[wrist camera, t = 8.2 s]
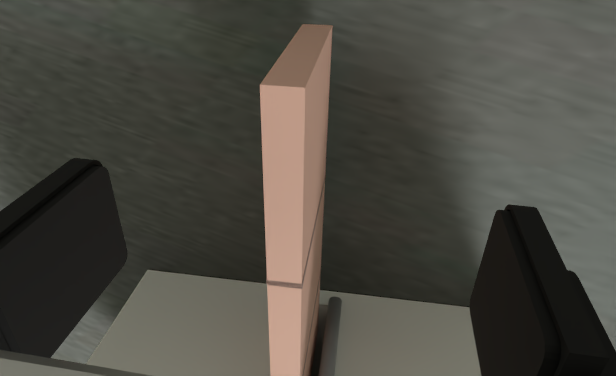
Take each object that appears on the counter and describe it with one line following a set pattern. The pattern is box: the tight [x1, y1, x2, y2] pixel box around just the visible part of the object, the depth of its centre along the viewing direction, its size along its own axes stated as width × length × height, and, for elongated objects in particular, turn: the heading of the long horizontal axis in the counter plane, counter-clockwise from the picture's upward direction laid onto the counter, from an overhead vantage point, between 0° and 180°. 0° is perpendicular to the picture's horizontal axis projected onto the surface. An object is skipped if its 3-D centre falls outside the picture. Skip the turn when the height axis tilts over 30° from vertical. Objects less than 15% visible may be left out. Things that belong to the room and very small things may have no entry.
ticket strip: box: [260, 24, 332, 376], centre depth 20 cm, size 18×1×8 cm, turn 179°
